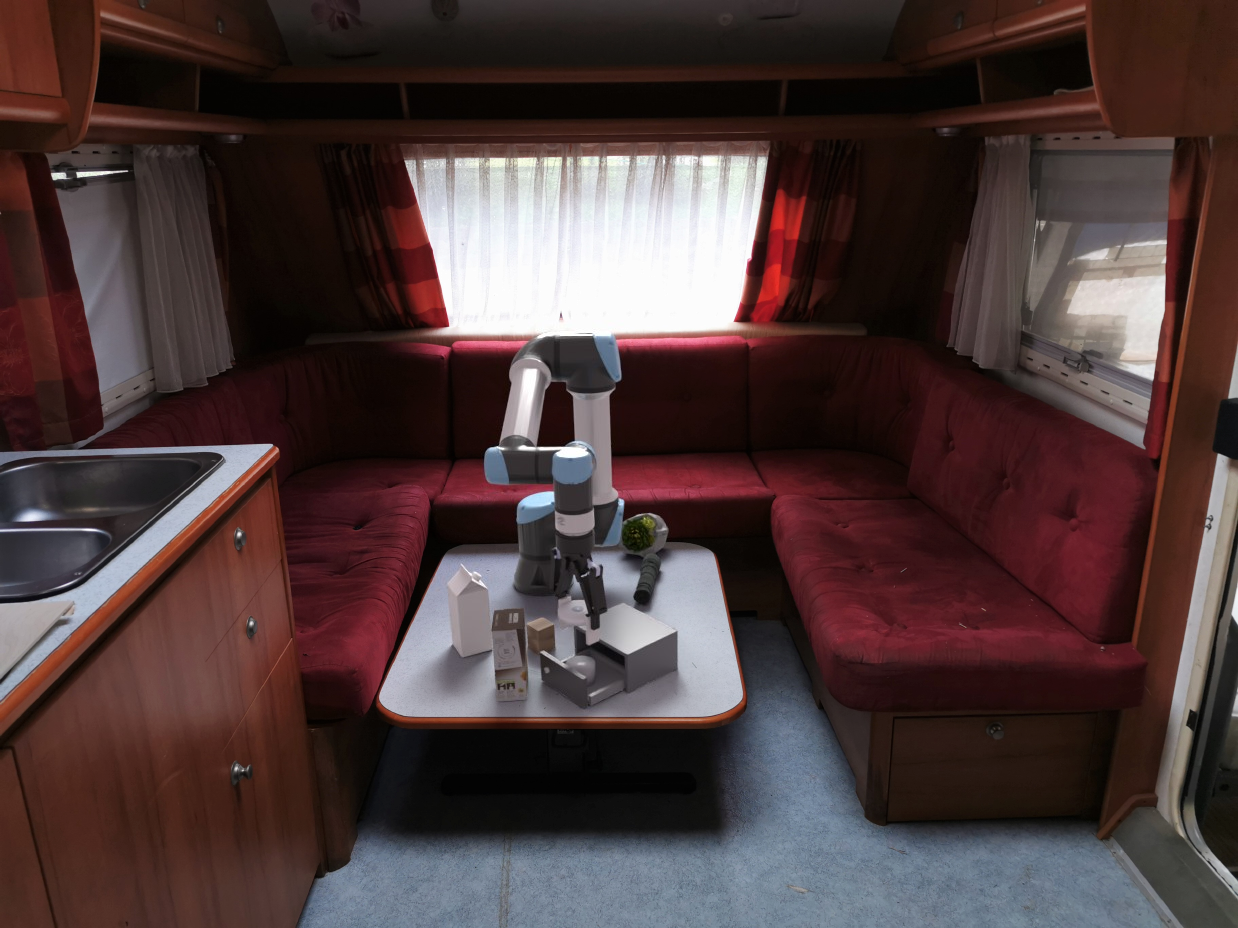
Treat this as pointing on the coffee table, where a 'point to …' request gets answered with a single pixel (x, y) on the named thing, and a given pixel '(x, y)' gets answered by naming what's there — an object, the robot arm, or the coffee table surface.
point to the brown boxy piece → (541, 635)
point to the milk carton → (469, 613)
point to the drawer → (583, 676)
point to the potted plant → (643, 534)
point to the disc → (573, 613)
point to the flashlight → (647, 578)
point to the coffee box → (510, 654)
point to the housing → (634, 644)
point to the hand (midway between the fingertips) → (579, 634)
